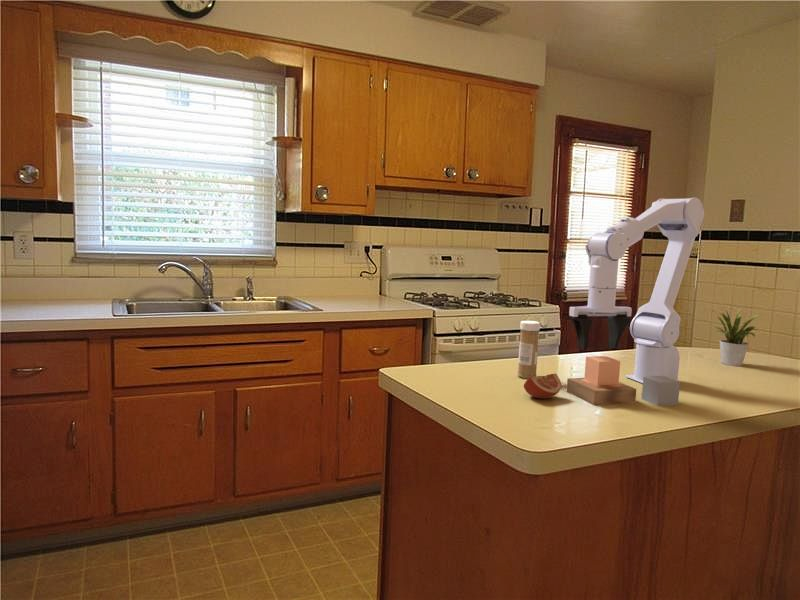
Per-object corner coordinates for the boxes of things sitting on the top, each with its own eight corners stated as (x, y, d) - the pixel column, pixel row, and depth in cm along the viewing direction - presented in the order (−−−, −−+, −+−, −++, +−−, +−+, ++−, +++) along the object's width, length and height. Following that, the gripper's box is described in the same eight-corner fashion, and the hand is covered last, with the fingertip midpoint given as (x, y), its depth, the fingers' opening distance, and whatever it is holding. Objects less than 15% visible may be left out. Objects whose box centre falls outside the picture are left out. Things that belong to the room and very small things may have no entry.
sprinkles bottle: (540, 378, 140) (544, 322, 139) (526, 380, 138) (530, 323, 136) (526, 373, 144) (530, 319, 142) (512, 375, 141) (516, 320, 140)
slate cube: (661, 398, 127) (663, 375, 126) (677, 405, 122) (680, 381, 121) (641, 399, 125) (643, 376, 125) (657, 406, 121) (659, 382, 120)
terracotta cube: (604, 378, 128) (606, 356, 128) (618, 384, 123) (620, 361, 123) (584, 379, 127) (585, 356, 126) (597, 385, 122) (599, 361, 122)
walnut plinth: (605, 392, 132) (606, 375, 131) (634, 405, 122) (636, 387, 122) (566, 393, 129) (567, 377, 128) (593, 407, 119) (594, 389, 119)
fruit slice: (543, 391, 128) (545, 369, 128) (568, 399, 123) (570, 376, 122) (516, 396, 123) (518, 373, 123) (541, 405, 118) (543, 381, 117)
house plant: (694, 363, 164) (700, 305, 162) (701, 355, 175) (707, 301, 173) (753, 372, 156) (760, 311, 154) (757, 363, 167) (764, 306, 165)
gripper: (619, 285, 135) (614, 344, 137) (563, 285, 131) (559, 345, 133) (639, 289, 128) (634, 350, 130) (581, 288, 124) (576, 351, 126)
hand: (597, 348), depth 131 cm, fingers open, 7 cm apart
